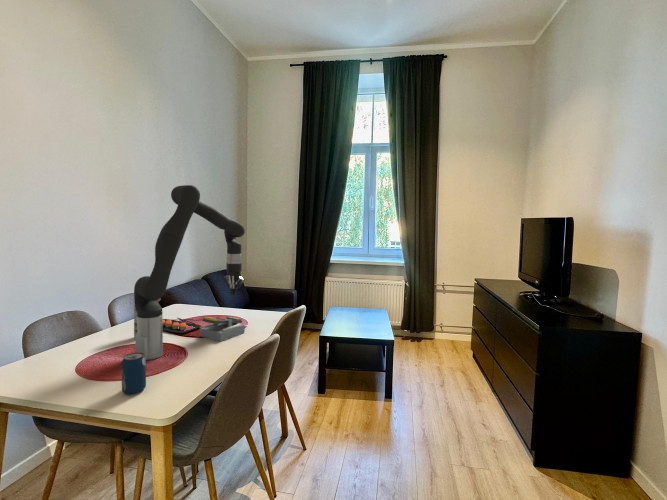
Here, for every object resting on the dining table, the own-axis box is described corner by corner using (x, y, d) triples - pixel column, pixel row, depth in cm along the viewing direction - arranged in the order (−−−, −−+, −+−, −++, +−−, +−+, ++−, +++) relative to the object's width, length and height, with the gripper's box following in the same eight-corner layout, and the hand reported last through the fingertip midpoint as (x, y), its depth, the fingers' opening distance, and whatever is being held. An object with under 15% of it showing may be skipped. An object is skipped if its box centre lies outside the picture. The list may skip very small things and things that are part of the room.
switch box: (220, 341, 162) (220, 324, 161) (200, 336, 169) (200, 319, 168) (244, 332, 176) (244, 317, 175) (224, 328, 183) (224, 313, 182)
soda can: (150, 386, 117) (150, 352, 116) (137, 396, 110) (137, 360, 109) (130, 385, 117) (130, 351, 116) (116, 395, 110) (116, 359, 109)
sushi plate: (140, 328, 180) (140, 321, 179) (185, 315, 207) (185, 308, 207) (181, 336, 169) (181, 329, 168) (223, 321, 196) (223, 315, 196)
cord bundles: (224, 331, 164) (224, 329, 164) (205, 327, 170) (205, 324, 170) (241, 325, 174) (241, 323, 174) (222, 321, 180) (222, 319, 180)
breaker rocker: (213, 324, 161) (214, 319, 162) (202, 321, 165) (203, 316, 166) (241, 323, 178) (242, 319, 178) (230, 321, 182) (231, 316, 182)
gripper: (219, 261, 176) (218, 295, 177) (238, 263, 170) (238, 298, 171) (230, 260, 182) (229, 292, 184) (248, 262, 176) (248, 295, 178)
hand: (233, 295), depth 177 cm, fingers closed
